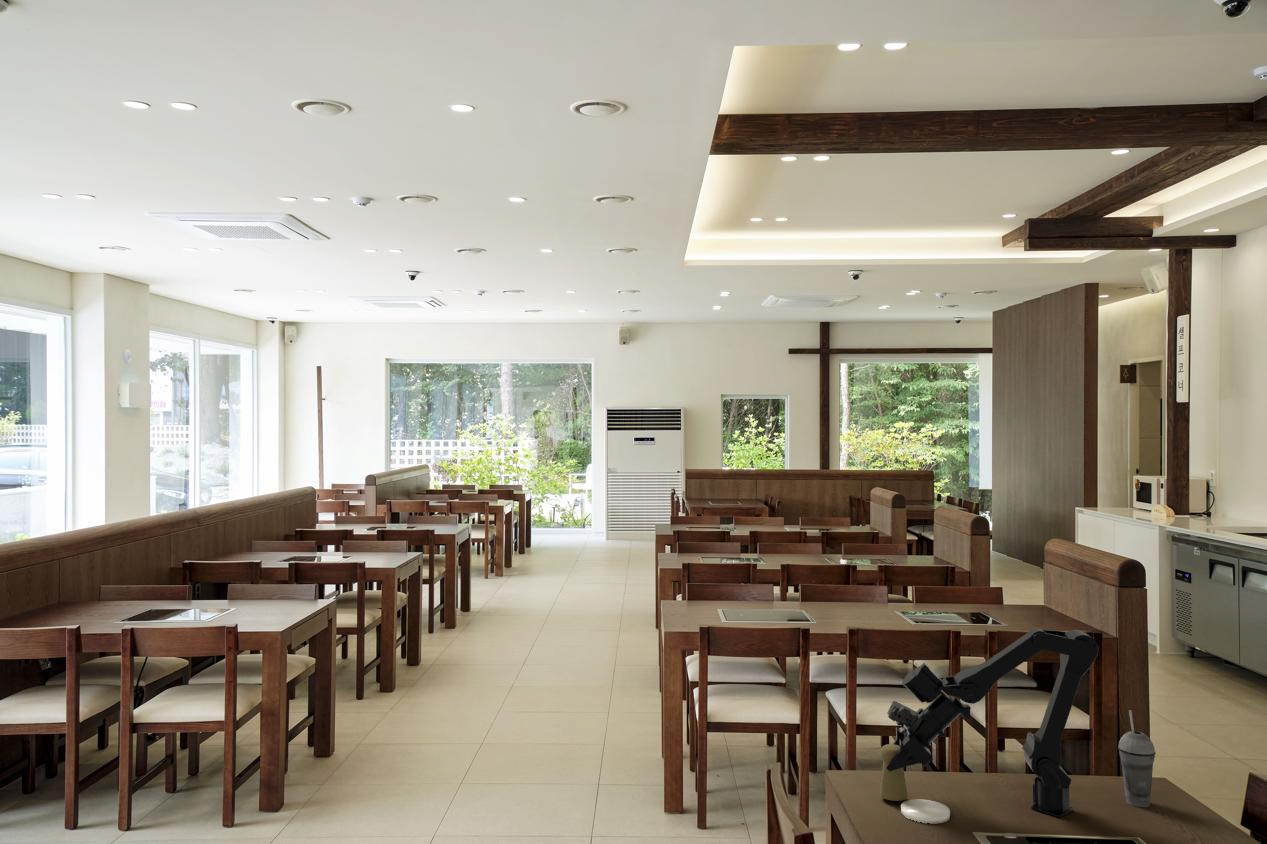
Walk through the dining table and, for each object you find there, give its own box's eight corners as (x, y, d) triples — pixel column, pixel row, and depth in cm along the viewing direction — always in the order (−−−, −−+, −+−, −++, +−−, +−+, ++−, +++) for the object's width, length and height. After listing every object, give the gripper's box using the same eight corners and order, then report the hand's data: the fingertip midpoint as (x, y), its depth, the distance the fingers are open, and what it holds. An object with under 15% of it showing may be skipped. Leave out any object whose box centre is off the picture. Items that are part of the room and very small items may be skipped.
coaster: (959, 815, 194) (959, 809, 195) (932, 827, 188) (932, 822, 188) (919, 801, 202) (918, 795, 202) (891, 812, 196) (891, 807, 196)
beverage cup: (1149, 812, 195) (1147, 718, 195) (1113, 802, 200) (1111, 711, 201) (1162, 803, 200) (1160, 711, 200) (1126, 794, 205) (1124, 704, 206)
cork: (911, 800, 200) (909, 750, 200) (883, 801, 200) (882, 750, 200) (903, 790, 206) (902, 741, 206) (876, 790, 206) (875, 741, 206)
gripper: (904, 679, 212) (857, 725, 214) (913, 702, 194) (861, 752, 196) (941, 715, 210) (893, 761, 212) (953, 741, 192) (901, 791, 194)
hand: (886, 765), depth 203 cm, fingers closed on cork, 5 cm apart
